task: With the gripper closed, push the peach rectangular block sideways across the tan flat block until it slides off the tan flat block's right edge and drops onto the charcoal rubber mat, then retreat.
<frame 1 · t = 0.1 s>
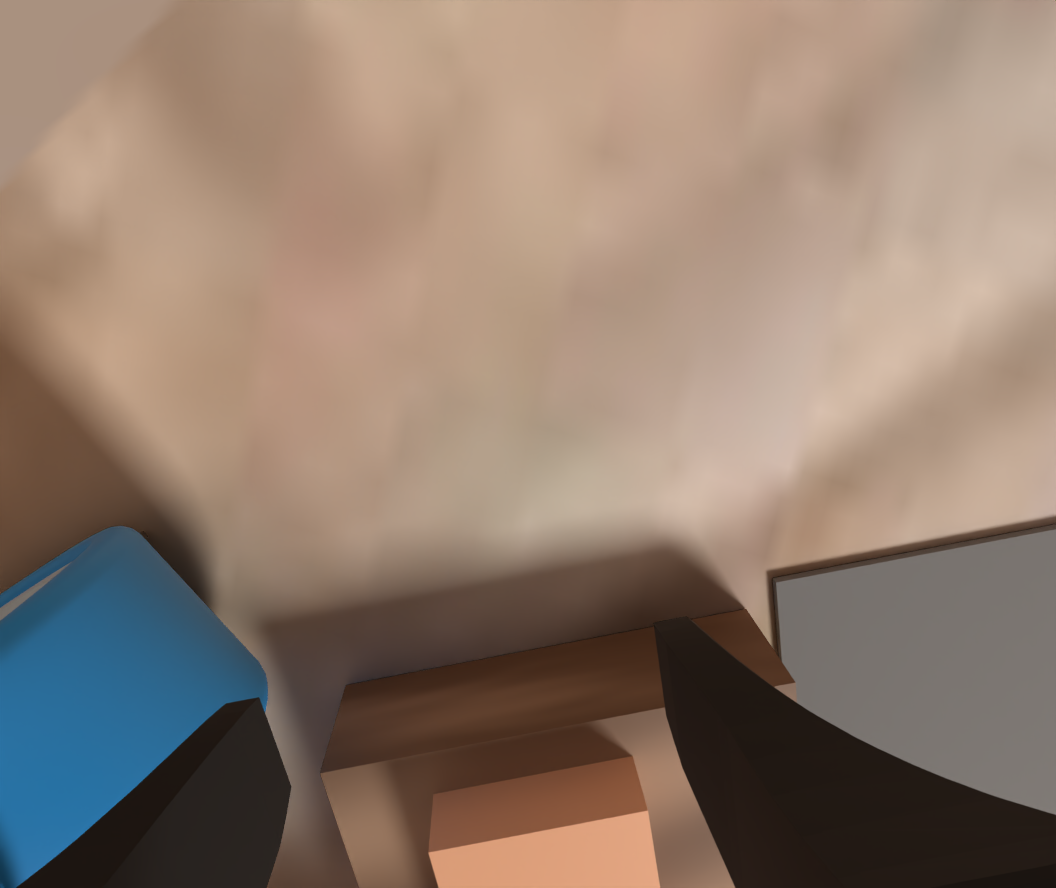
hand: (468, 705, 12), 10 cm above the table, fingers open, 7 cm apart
alarm clock: (111, 633, 23), on the table
tan flat block: (573, 783, 26), on the table
peach rectangular block: (557, 886, 22), point 4 cm above the table, touching tan flat block
mat: (943, 712, 26), on the table
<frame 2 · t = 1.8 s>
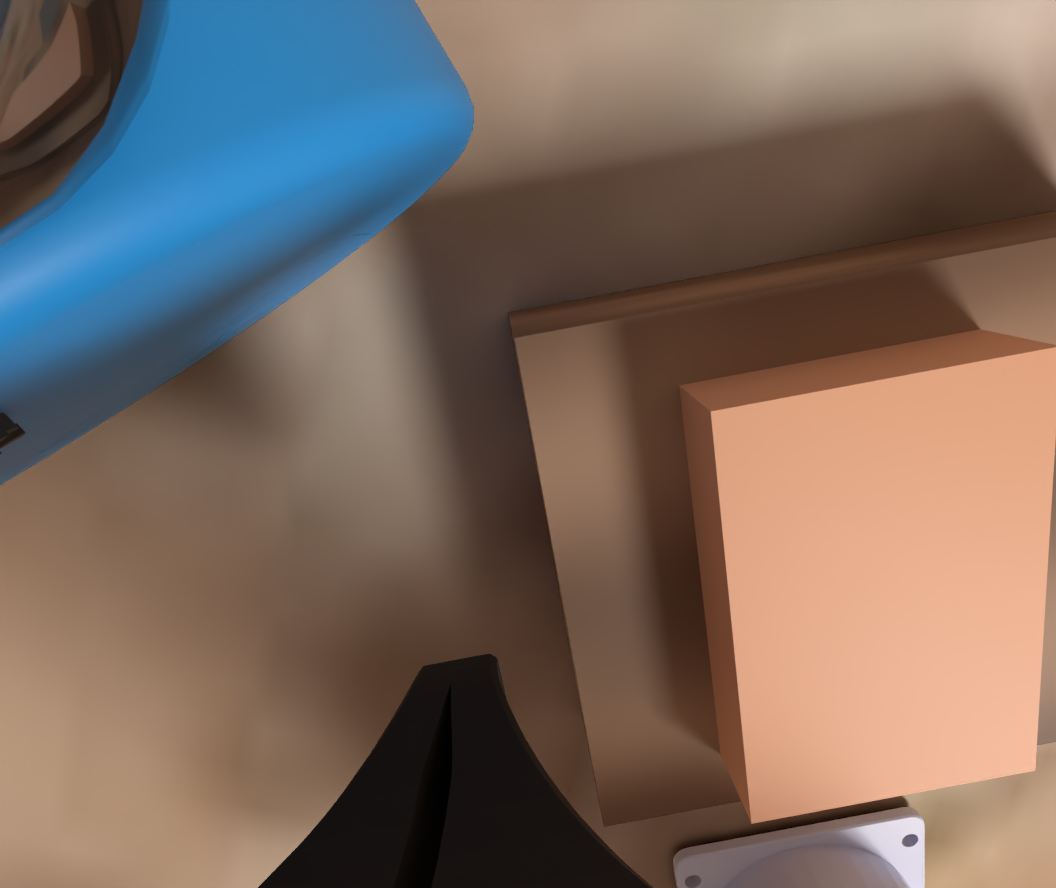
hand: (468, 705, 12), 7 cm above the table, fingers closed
alarm clock: (182, 216, 16), on the table
tan flat block: (803, 486, 19), on the table
peach rectangular block: (838, 561, 15), point 4 cm above the table, touching tan flat block
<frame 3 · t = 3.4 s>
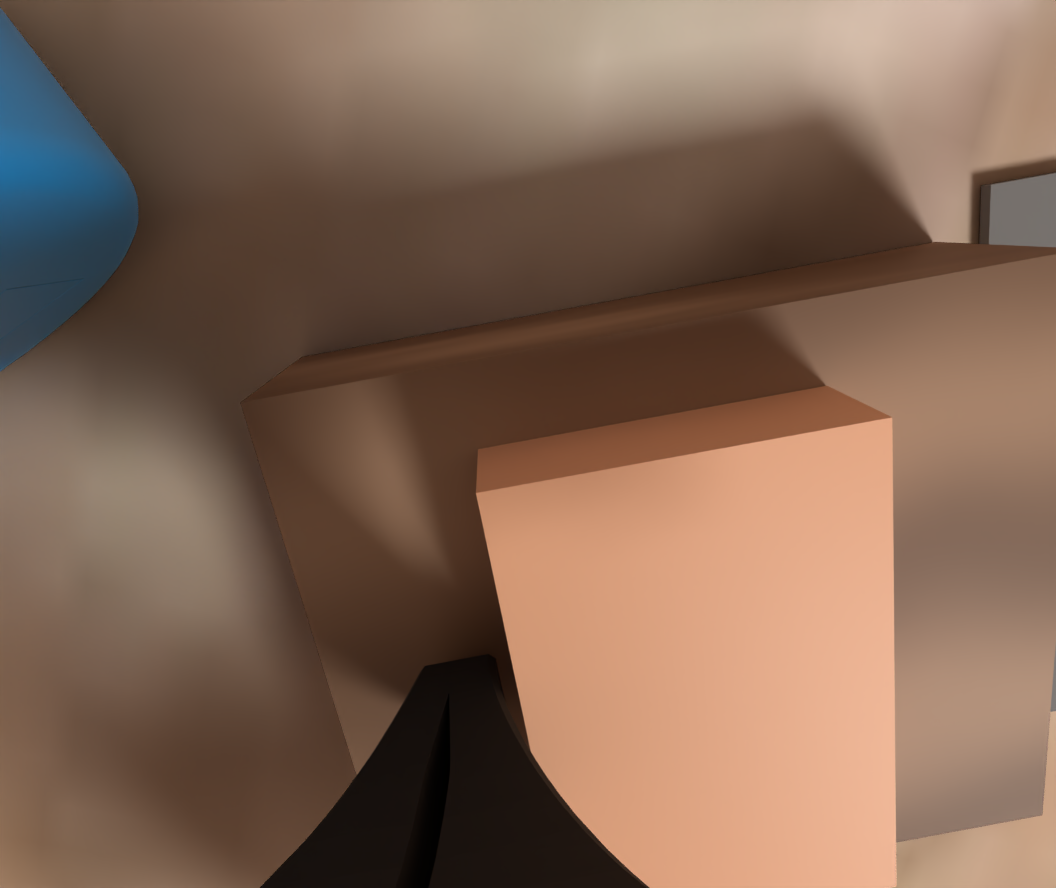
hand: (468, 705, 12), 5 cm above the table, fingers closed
tan flat block: (650, 545, 17), on the table
peach rectangular block: (679, 642, 13), point 4 cm above the table, touching tan flat block
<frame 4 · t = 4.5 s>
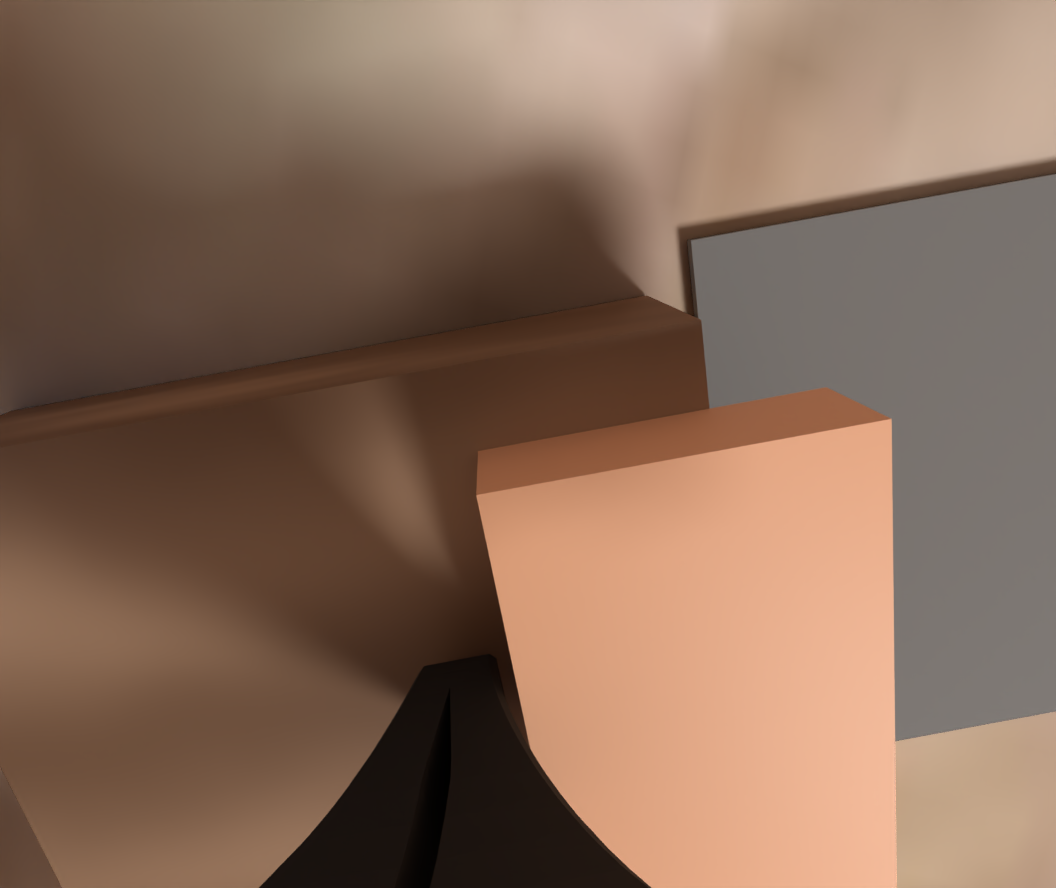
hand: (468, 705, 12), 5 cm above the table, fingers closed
tan flat block: (393, 593, 17), on the table
peach rectangular block: (679, 644, 13), point 4 cm above the table, touching tan flat block, gripper
mat: (955, 489, 17), on the table
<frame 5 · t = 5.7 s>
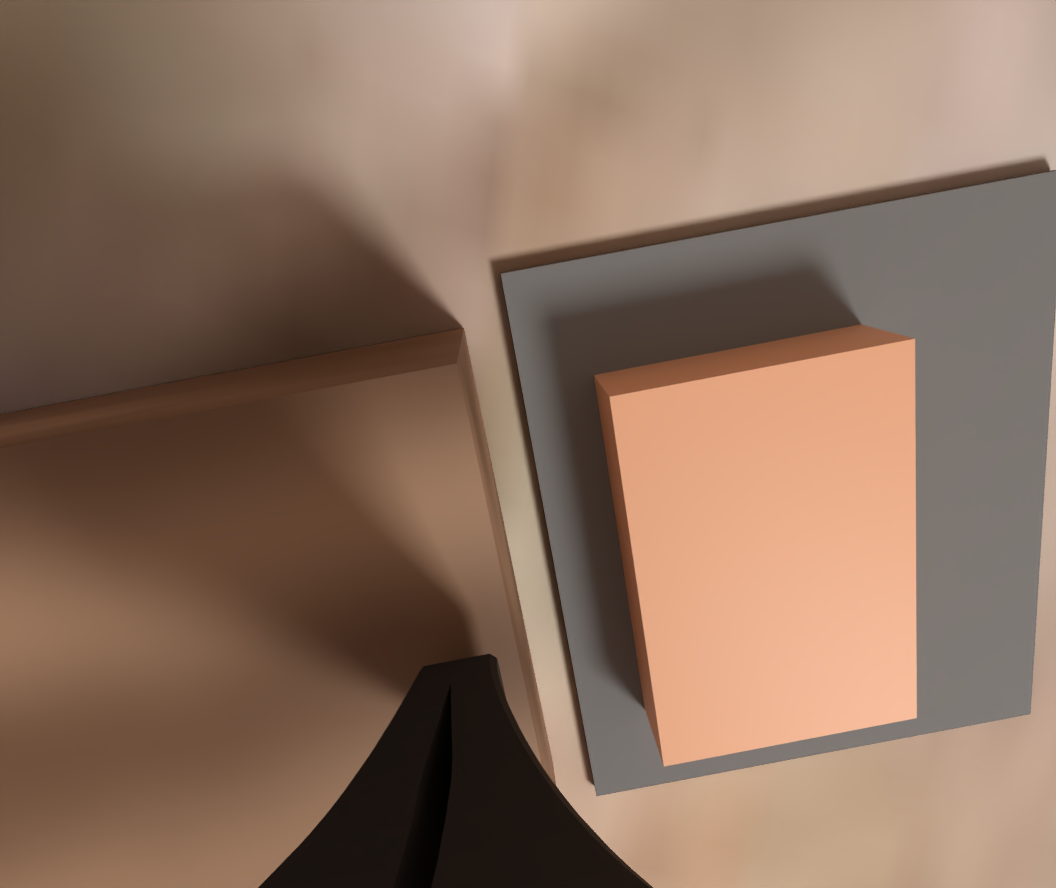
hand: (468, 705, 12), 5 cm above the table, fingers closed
tan flat block: (230, 623, 17), on the table
peach rectangular block: (777, 572, 15), point 2 cm above the table, tilted 180°, touching mat
mat: (795, 517, 17), on the table
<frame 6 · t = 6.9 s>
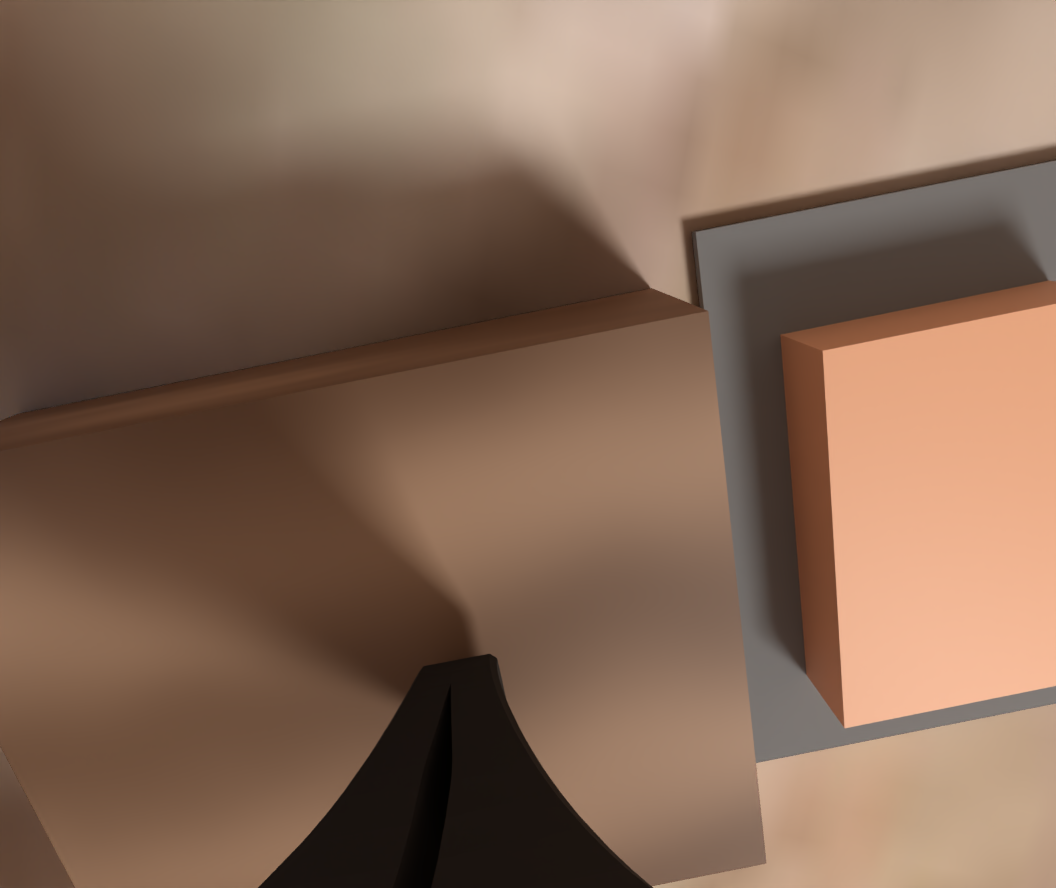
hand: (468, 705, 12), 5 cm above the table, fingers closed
tan flat block: (401, 591, 17), on the table
peach rectangular block: (973, 529, 15), point 2 cm above the table, tilted 180°, touching mat
mat: (965, 479, 17), on the table
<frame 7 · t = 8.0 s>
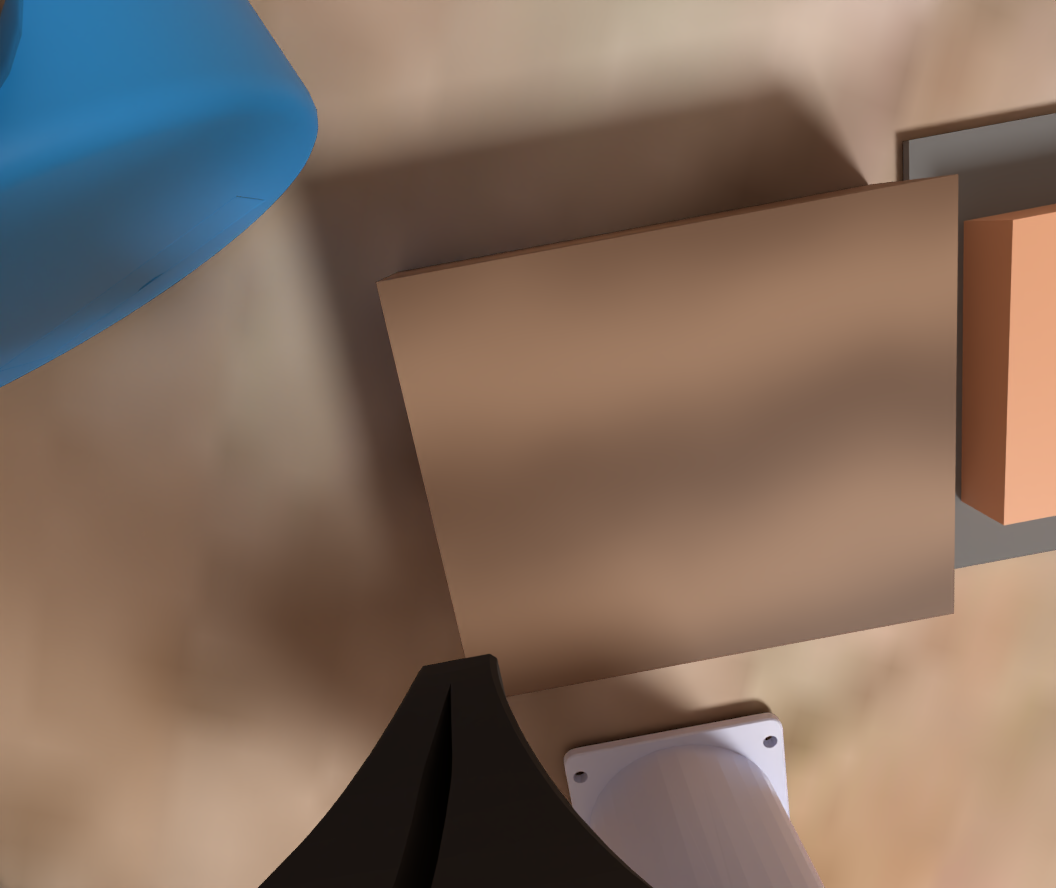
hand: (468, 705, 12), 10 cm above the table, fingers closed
alarm clock: (122, 190, 19), on the table
tan flat block: (657, 423, 22), on the table
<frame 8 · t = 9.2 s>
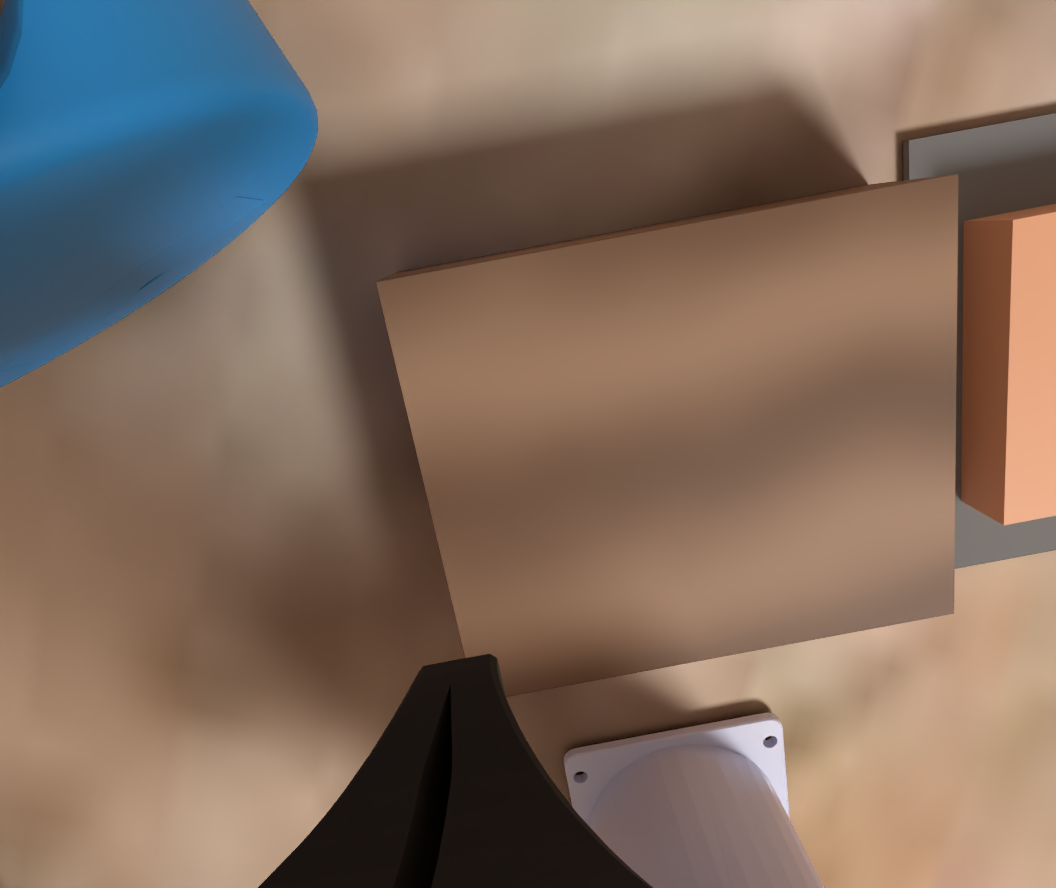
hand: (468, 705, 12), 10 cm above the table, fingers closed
alarm clock: (122, 190, 19), on the table
tan flat block: (657, 423, 22), on the table
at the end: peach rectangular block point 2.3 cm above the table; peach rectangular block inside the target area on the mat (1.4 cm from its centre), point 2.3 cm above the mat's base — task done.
